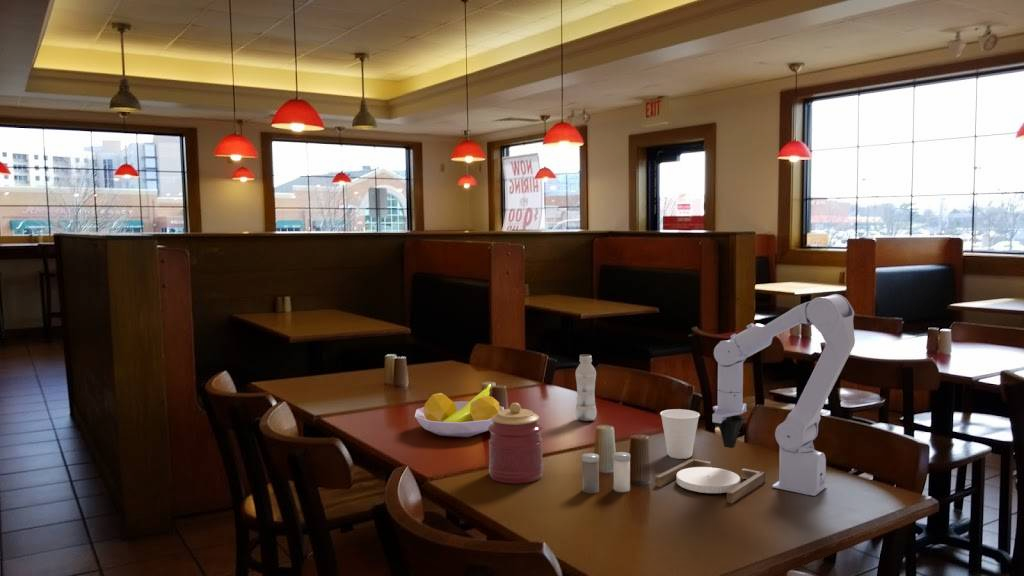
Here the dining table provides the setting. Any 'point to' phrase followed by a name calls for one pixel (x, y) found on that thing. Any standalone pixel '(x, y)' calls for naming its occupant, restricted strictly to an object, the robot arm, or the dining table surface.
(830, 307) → the robot arm
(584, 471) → the pepper shaker
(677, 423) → the cup
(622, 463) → the salt shaker
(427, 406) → the fruit bowl
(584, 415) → the plastic bottle
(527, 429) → the canister
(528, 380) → the dining table surface
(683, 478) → the plastic lid
